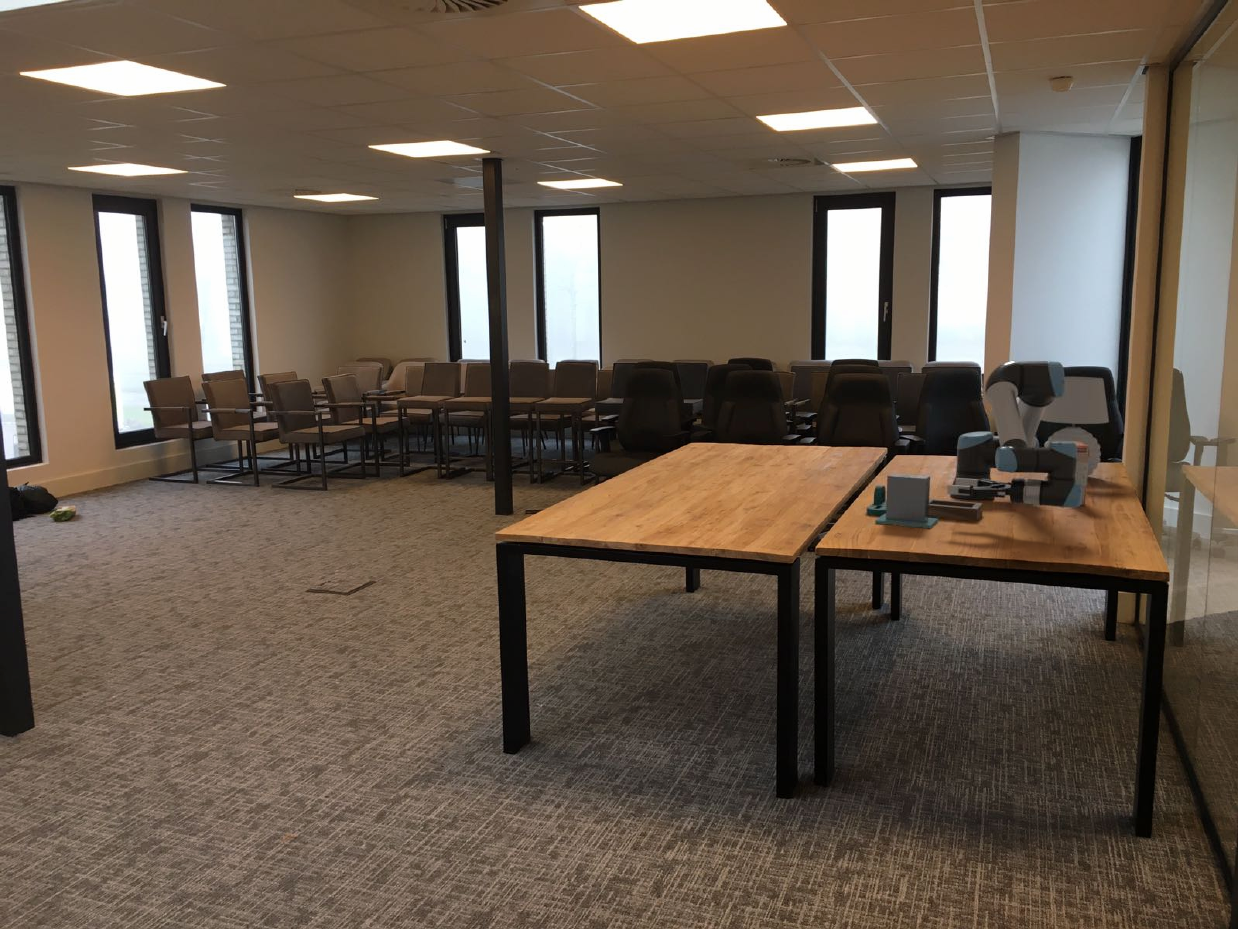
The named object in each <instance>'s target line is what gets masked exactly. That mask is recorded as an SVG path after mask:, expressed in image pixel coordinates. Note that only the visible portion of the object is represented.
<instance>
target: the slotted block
mask: <svg viewBox="0 0 1238 929" xmlns="http://www.w3.org/2000/svg"><path fill="white" fill-rule="evenodd" d="M982 516H983V503H982V502H975V501H974V502H973V501H959V500H950V499H949V500H948V499H947V500H946V499H937V498H936V499H935V498H929V516H928V518H932V517H939V518H938V519H943V518H945V519H944V520H954V519H955V520H957V521H965V520H968V521H967V522H977V521H979V520H980V519H981V517H982ZM955 520H954V521H955Z"/></svg>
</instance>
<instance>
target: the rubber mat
mask: <svg viewBox="0 0 1238 929" xmlns="http://www.w3.org/2000/svg"><path fill="white" fill-rule="evenodd" d="M938 521H939V518H932V517H928V520H927V521H926V522H925V523H919V522H908V521H897V520H887V519H886V514H883V515H882V516H878V518H877V519H875V520H874V522H875V523H878V524H877V525H886V524H895V525H894V526H896V525H902V526H901V527H906V526H910V527H909V528H917V527H925V528H924V529H927V528H931V527H932V528H933V527H935V525H936V524H937V523H939V522H938ZM875 523H874V524H875ZM934 524H935V525H934ZM932 528H931V529H932Z"/></svg>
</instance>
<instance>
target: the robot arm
mask: <svg viewBox="0 0 1238 929" xmlns="http://www.w3.org/2000/svg"><path fill="white" fill-rule="evenodd" d="M1065 377H1066V376H1065V370H1064V366H1063V364H1062V363H1061V362H1059V361H1053V360H1026V361H1025V360H1021V361H1019V360H1010V361H1006V362H1004V363H1002V364H1000V365H998V366H997V367H996V368H995V369H993V371H992V372H991V373H990V374H989V376H988V378H987V380H986V382H985V387H984V388H985V390H984V392H985V396H986V400H987V401H988V403H989V404H990V405H991V409H992V414H993V419H994V422H995V427H996V432H997V435H994V434H993V432H991V431H973V432H967V433H963V434H960V436H959V437H958V440H957V446H956V449H957V450H956V452H957V453H956V468H955V470H956V472H955V477H954V480H953V482H952V484H947V491H946V494H947V495H950V497H952V498H956V499H961V500H962V499H963V500H973V501H984V500H985V501H987V500H993V499H994V498H1002V499H1004V498H1006V496H1009V500H1010V503H1012V504H1024V503H1025V504H1027V505H1032V506H1033V507H1037V505H1039V506H1048V507H1055V508H1056V507H1059V508H1078V507H1080V506H1081V505H1080V504H1081V500H1082V484H1081V483H1078V482H1075V472H1076V461H1077V446H1076V444H1075V443H1074V442H1071V441H1051V442H1050V444H1049V447H1045V446H1044V447H1043V446H1042V447H1041V446H1040V442H1039V440H1038V438H1037V437H1036V434H1037V431H1038V428H1039V425H1040V423H1041V421H1042V420H1041V418H1042V415H1043V413H1044V410H1045V408H1046V406H1048V405H1050V404H1051V403H1052V402H1053V400H1054V398H1060V397H1063V395H1064V391H1065ZM1017 398H1018V399H1019V400H1018V399H1017ZM992 469H997V471H999V472H1002V473H1011V474H1013V473H1014V474H1015V473H1016V474H1017V473H1025V474H1026V473H1027V474H1028V473H1031V474H1032V473H1033V474H1034V473H1035V474H1036V473H1037V474H1039V473H1040V474H1047V476H1046V477H1047V480H1045V479H1037V478H1036V479H1034V478H1033V479H1032V478H1027V479H1025V478H1020V477H1019V478H1016V477H1013V478H1012V479H1011V481H1008V482H1007V481H1001V480H993V479H992V477H991V470H992Z"/></svg>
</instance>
